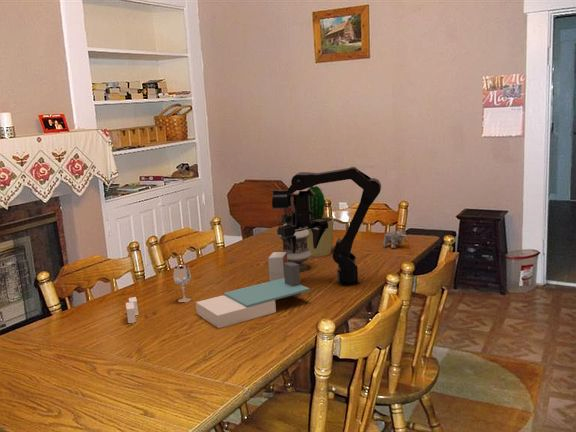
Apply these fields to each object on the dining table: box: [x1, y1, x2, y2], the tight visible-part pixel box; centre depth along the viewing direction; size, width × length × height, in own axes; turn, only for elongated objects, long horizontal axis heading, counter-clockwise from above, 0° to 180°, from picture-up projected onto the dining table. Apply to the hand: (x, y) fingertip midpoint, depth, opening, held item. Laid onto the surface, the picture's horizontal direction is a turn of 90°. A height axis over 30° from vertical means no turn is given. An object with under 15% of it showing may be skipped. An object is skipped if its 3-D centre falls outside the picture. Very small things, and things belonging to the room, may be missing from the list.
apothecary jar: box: [278, 224, 312, 272], centre depth 230 cm, size 12×12×18 cm
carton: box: [195, 294, 277, 329], centre depth 185 cm, size 20×16×4 cm
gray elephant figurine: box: [382, 229, 410, 250], centre depth 253 cm, size 9×12×8 cm
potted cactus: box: [306, 185, 335, 258], centre depth 250 cm, size 15×15×30 cm
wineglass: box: [173, 264, 192, 303], centre depth 200 cm, size 6×6×12 cm
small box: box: [267, 251, 288, 281], centre depth 214 cm, size 8×6×10 cm
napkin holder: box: [125, 296, 139, 324], centre depth 188 cm, size 15×11×6 cm
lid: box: [223, 262, 311, 307], centre depth 190 cm, size 23×16×10 cm
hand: (304, 250), depth 210 cm, fingers open, 9 cm apart
